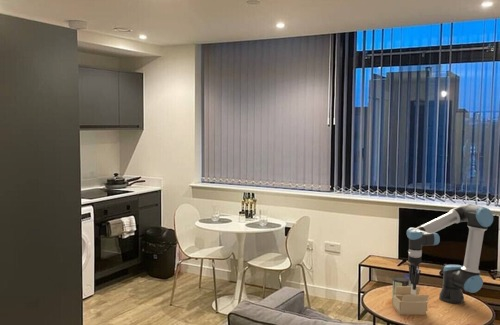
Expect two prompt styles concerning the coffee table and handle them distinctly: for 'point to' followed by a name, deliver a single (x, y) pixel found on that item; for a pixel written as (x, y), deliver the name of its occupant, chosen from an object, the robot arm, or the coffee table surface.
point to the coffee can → (399, 284)
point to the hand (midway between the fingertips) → (413, 294)
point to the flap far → (406, 290)
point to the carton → (409, 306)
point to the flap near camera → (415, 298)
